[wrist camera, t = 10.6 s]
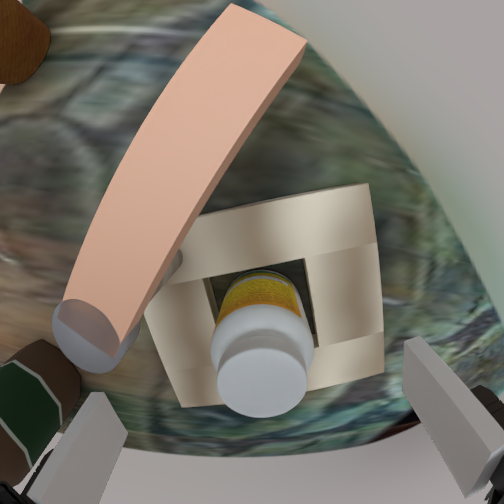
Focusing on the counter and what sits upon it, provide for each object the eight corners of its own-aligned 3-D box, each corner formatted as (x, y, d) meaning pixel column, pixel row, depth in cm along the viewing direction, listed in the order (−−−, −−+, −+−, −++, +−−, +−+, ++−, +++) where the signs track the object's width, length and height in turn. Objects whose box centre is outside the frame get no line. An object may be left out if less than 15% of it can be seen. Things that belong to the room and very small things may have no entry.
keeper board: (186, 392, 24) (156, 489, 14) (131, 232, 21) (40, 277, 11) (376, 358, 23) (426, 449, 12) (358, 182, 20) (442, 190, 9)
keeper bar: (124, 360, 11) (107, 386, 9) (69, 321, 11) (45, 341, 9) (305, 66, 8) (314, 44, 7) (231, 27, 8) (225, 0, 6)
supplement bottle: (312, 313, 22) (343, 398, 13) (250, 347, 23) (245, 441, 13) (274, 252, 21) (285, 311, 12) (208, 291, 22) (176, 369, 12)
